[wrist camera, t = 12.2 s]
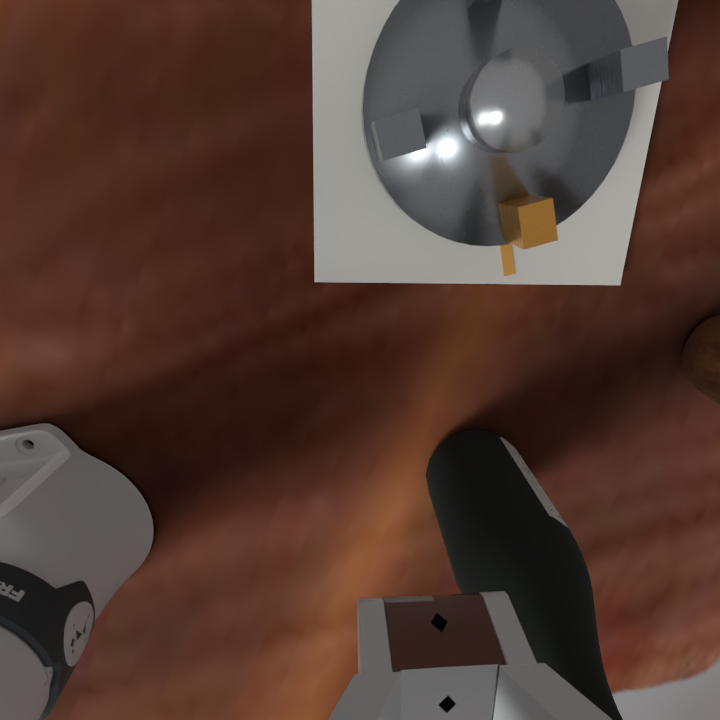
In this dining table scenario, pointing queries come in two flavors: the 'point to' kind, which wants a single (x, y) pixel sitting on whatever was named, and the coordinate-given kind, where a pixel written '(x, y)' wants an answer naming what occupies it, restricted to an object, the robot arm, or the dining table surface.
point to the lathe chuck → (501, 111)
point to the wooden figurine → (704, 357)
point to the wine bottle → (519, 554)
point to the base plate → (409, 239)
